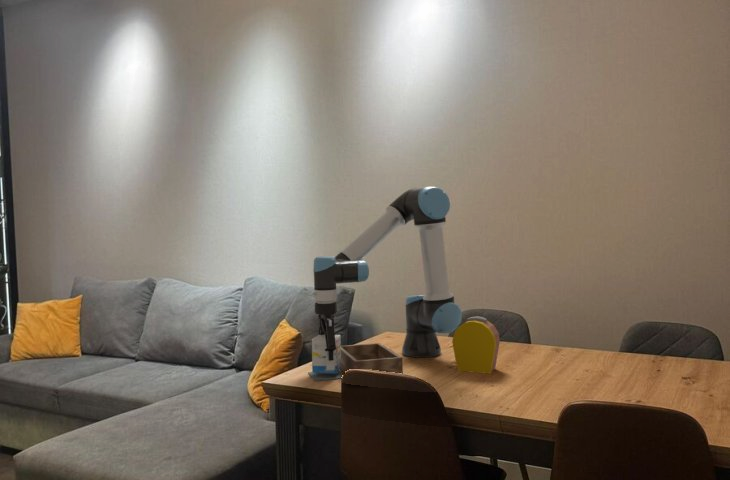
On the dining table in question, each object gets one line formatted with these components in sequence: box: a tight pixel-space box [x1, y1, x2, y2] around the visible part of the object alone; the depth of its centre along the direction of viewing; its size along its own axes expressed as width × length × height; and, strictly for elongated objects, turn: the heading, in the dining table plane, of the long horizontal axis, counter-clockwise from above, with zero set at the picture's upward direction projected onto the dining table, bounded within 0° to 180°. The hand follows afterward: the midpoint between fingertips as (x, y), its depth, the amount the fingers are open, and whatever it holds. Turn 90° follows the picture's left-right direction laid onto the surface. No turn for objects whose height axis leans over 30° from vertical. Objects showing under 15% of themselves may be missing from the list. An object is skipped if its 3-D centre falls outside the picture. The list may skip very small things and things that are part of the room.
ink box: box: [311, 334, 342, 373], centre depth 220 cm, size 9×8×12 cm
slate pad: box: [307, 369, 344, 382], centre depth 220 cm, size 11×11×1 cm
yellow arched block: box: [451, 315, 501, 374], centre depth 225 cm, size 15×8×18 cm, turn 65°
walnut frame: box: [340, 342, 404, 375], centre depth 225 cm, size 16×26×7 cm, turn 15°
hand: (327, 366), depth 220 cm, fingers closed on ink box, 11 cm apart
